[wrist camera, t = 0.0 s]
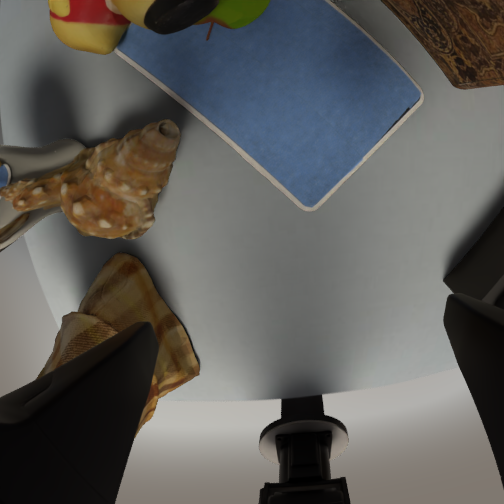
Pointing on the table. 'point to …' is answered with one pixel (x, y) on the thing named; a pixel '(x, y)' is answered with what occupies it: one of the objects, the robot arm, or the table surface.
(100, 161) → the seashell
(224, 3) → the decorative leaf
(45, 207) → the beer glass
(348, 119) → the tablet
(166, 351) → the brown cream tall piece
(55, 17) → the toy
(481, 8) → the book
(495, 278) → the button base
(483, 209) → the table surface
